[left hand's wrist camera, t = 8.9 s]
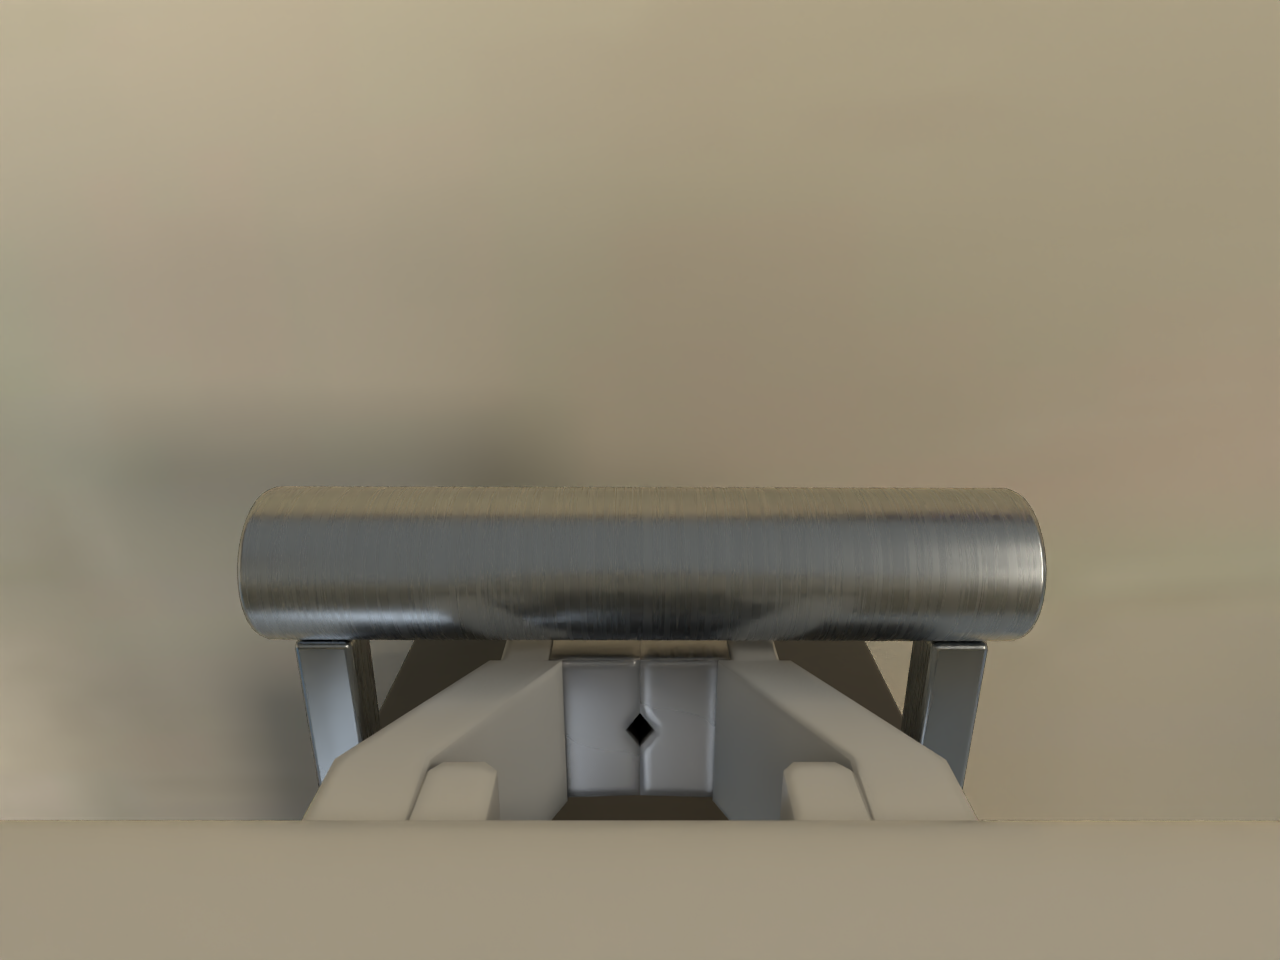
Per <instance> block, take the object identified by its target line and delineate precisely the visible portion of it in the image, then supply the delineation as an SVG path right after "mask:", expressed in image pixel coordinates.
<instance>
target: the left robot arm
mask: <svg viewBox="0 0 1280 960" xmlns="http://www.w3.org/2000/svg"><path fill="white" fill-rule="evenodd" d="M625 795H653V796H689V797H713V801H714V803H715V804H716V805H717V806H718V807H719V809H720V810H721V811H722V812H723V813H724V815H725V816H726V817H727V818H728V819H729V820H552V819H553V818H554V817H555V815H556V814H557V813H558V812H559V811H560V809H561V808H562V807H563V806H564V805H565V803H566V802H567V797H590V796H625ZM0 960H1280V821H987V820H986V821H984V820H978V819H977V817H976V815H975V813H974V811H973V809H972V807H971V805H970V804H969V802H968V800H967V798H966V796H965V794H964V792H963V790H962V789H961V787H960V785H959V783H958V781H957V779H956V777H955V775H954V774H953V772H952V770H951V768H950V766H949V764H948V762H947V760H945V759H944V758H942V757H941V756H939V755H938V754H936V753H935V752H933V751H931V750H930V749H928V748H927V747H925V746H924V745H922V744H920V743H919V742H917V741H916V740H914V739H913V738H911V737H909V736H908V735H906V734H905V733H903V732H902V731H900V730H899V729H897V728H895V727H894V726H892V725H891V724H889V723H888V722H886V721H884V720H883V719H881V718H880V717H878V716H877V715H875V714H873V713H872V712H870V711H869V710H867V709H866V708H864V707H862V706H861V705H859V704H858V703H856V702H855V701H853V700H852V699H850V698H848V697H847V696H845V695H844V694H842V693H841V692H839V691H837V690H836V689H834V688H833V687H831V686H830V685H828V684H826V683H825V682H823V681H822V680H820V679H819V678H817V677H816V676H814V675H812V674H811V673H809V672H808V671H806V670H805V669H803V668H801V667H800V666H798V665H797V664H795V663H794V662H792V661H790V660H779V658H778V655H777V652H776V648H775V645H774V642H773V641H730V640H507V641H506V645H505V648H504V651H503V655H502V658H501V660H490V661H488V662H486V663H485V664H483V665H482V666H480V667H479V668H477V669H475V670H474V671H472V672H471V673H469V674H468V675H466V676H464V677H463V678H461V679H460V680H458V681H457V682H455V683H453V684H452V685H450V686H449V687H447V688H446V689H444V690H442V691H441V692H439V693H438V694H436V695H434V696H433V697H431V698H430V699H428V700H427V701H425V702H423V703H422V704H420V705H419V706H417V707H416V708H414V709H412V710H411V711H409V712H408V713H406V714H405V715H403V716H401V717H400V718H398V719H397V720H395V721H394V722H392V723H390V724H389V725H387V726H386V727H384V728H383V729H381V730H379V731H378V732H376V733H375V734H373V735H372V736H370V737H368V738H367V739H365V740H364V741H362V742H361V743H359V744H357V745H356V746H354V747H353V748H351V749H350V750H348V751H346V752H345V753H343V754H342V755H340V756H339V757H337V758H335V760H334V761H333V763H332V765H331V767H330V769H329V771H328V772H327V774H326V776H325V778H324V780H323V782H322V784H321V785H320V787H319V789H318V791H317V793H316V795H315V796H314V798H313V800H312V802H311V804H310V806H309V808H308V809H307V811H306V813H305V815H304V817H303V819H302V820H0Z"/></svg>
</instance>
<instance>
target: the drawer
mask: <svg viewBox="0 0 1280 960" xmlns="http://www.w3.org/2000/svg"><path fill="white" fill-rule="evenodd" d="M237 579H238V590H239V597H240V601H241V606H242V609H243V612H244V615H245V617H246V619H247V621H248V623H249V625H250V626H251V628H252V629H253V630H254V631H255V632H256V633H257V634H259V635H261V636H263V637H265V638H268V639H274V640H297V642H296V645H295V650H296V656H297V662H298V668H299V674H300V680H301V685H302V691H303V697H304V703H305V709H306V715H307V720H308V726H309V732H310V738H311V744H312V750H313V756H314V761H315V767H316V773H317V779H318V785H319V787H320V785H321V784H322V782H323V780H324V778H325V776H326V774H327V772H328V771H329V769H330V767H331V765H332V763H333V761H334V760H335V758H337V757H339V756H340V755H342V754H343V753H345V752H346V751H348V750H350V749H351V748H353V747H354V746H356V745H357V744H359V743H361V742H362V741H364V740H365V739H367V738H368V737H370V736H372V735H373V734H375V733H376V732H378V731H379V730H381V729H383V728H384V727H386V726H387V725H389V724H390V723H392V722H394V721H395V720H397V719H398V718H400V717H401V716H403V715H405V714H406V713H408V712H409V711H411V710H412V709H414V708H416V707H417V706H419V705H420V704H422V703H423V702H425V701H427V700H428V699H430V698H431V697H433V696H434V695H436V694H438V693H439V692H441V691H442V690H444V689H446V688H447V687H449V686H450V685H452V684H453V683H455V682H457V681H458V680H460V679H461V678H463V677H464V676H466V675H468V674H469V673H471V672H472V671H474V670H475V669H477V668H479V667H480V666H482V665H483V664H485V663H486V662H488V661H490V660H501V658H502V655H503V651H504V648H505V645H506V641H507V640H730V641H773V642H774V645H775V648H776V652H777V655H778V658H779V660H790V661H792V662H794V663H795V664H797V665H798V666H800V667H801V668H803V669H805V670H806V671H808V672H809V673H811V674H812V675H814V676H816V677H817V678H819V679H820V680H822V681H823V682H825V683H826V684H828V685H830V686H831V687H833V688H834V689H836V690H837V691H839V692H841V693H842V694H844V695H845V696H847V697H848V698H850V699H852V700H853V701H855V702H856V703H858V704H859V705H861V706H862V707H864V708H866V709H867V710H869V711H870V712H872V713H873V714H875V715H877V716H878V717H880V718H881V719H883V720H884V721H886V722H888V723H889V724H891V725H892V726H894V727H895V728H897V729H899V730H900V731H902V732H903V733H905V734H906V735H908V736H909V737H911V738H913V739H914V740H916V741H917V742H919V743H920V744H922V745H924V746H925V747H927V748H928V749H930V750H931V751H933V752H935V753H936V754H938V755H939V756H941V757H942V758H944V759H945V760H947V762H948V764H949V766H950V768H951V770H952V772H953V774H954V775H955V777H956V779H957V781H958V783H959V785H960V787H961V789H962V790H963V784H964V779H965V773H966V768H967V762H968V756H969V751H970V745H971V740H972V734H973V729H974V723H975V717H976V712H977V706H978V701H979V695H980V690H981V684H982V679H983V673H984V667H985V662H986V656H987V651H988V647H987V644H986V642H985V641H1014V640H1017V639H1019V638H1022V637H1024V636H1025V635H1026V634H1028V633H1029V632H1030V631H1031V630H1032V628H1033V627H1034V625H1035V624H1036V621H1037V619H1038V617H1039V615H1040V612H1041V609H1042V605H1043V601H1044V595H1045V588H1046V556H1045V548H1044V542H1043V537H1042V533H1041V530H1040V527H1039V524H1038V521H1037V518H1036V516H1035V514H1034V512H1033V510H1032V508H1031V507H1030V505H1029V504H1028V502H1027V501H1026V500H1025V499H1024V498H1023V497H1022V496H1021V495H1020V494H1018V493H1016V492H1014V491H1012V490H1009V489H1006V488H724V487H331V486H280V487H275V488H272V489H270V490H267V491H266V492H264V493H263V494H262V495H261V496H260V497H259V498H258V499H257V500H256V501H255V503H254V504H253V506H252V508H251V509H250V512H249V514H248V516H247V518H246V521H245V524H244V527H243V531H242V534H241V539H240V544H239V551H238V563H237ZM369 640H415V641H414V643H413V645H412V647H411V649H410V651H409V653H408V655H407V657H406V659H405V661H404V663H403V665H402V667H401V669H400V671H399V673H398V675H397V677H396V679H395V681H394V683H393V685H392V687H391V689H390V691H389V693H388V695H387V697H386V699H385V701H384V703H383V705H382V707H381V709H380V711H379V710H378V703H377V695H376V688H375V680H374V673H373V665H372V658H371V650H370V643H369ZM865 641H913V647H912V654H911V661H910V668H909V675H908V682H907V689H906V696H905V703H904V710H903V717H902V715H901V713H900V711H899V709H898V707H897V705H896V703H895V701H894V699H893V697H892V695H891V693H890V691H889V689H888V687H887V685H886V683H885V681H884V679H883V677H882V675H881V673H880V671H879V669H878V667H877V665H876V663H875V661H874V659H873V657H872V655H871V653H870V651H869V649H868V647H867V645H866V643H865ZM552 820H729V819H728V818H727V817H726V816H725V815H724V813H723V812H722V811H721V810H720V809H719V807H718V806H717V805H716V804H715V803H714V801H713V797H689V796H653V795H625V796H590V797H567V802H566V803H565V805H564V806H563V807H562V808H561V809H560V811H559V812H558V813H557V814H556V815H555V817H554V818H553V819H552Z"/></svg>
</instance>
